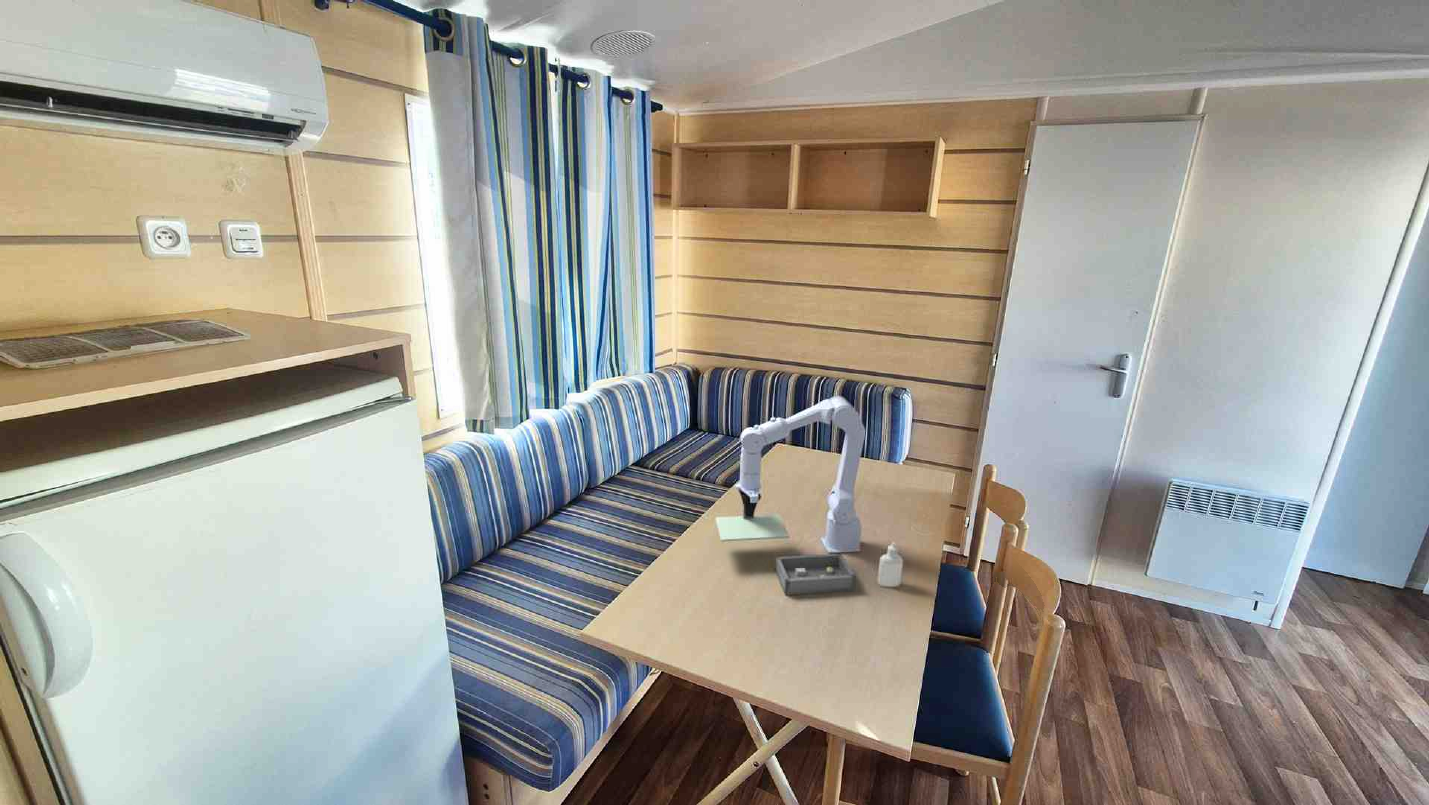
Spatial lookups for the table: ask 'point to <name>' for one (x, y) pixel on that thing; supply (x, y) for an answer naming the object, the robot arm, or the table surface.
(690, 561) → the table surface
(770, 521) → the tub lid
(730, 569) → the table surface
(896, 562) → the eye dropper bottle
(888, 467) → the table surface
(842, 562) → the parts tub
